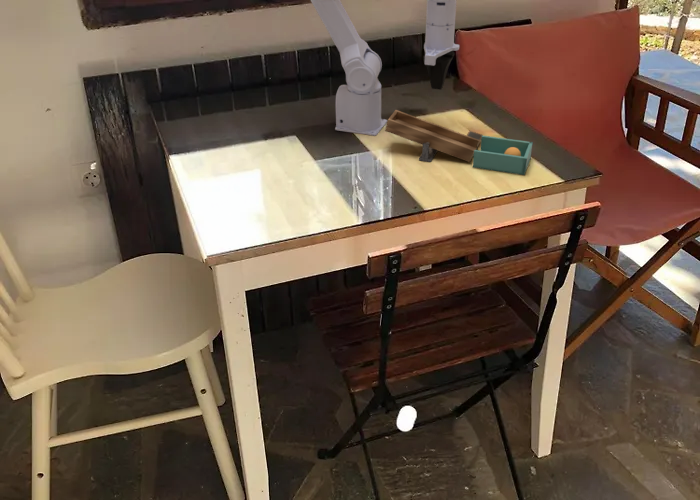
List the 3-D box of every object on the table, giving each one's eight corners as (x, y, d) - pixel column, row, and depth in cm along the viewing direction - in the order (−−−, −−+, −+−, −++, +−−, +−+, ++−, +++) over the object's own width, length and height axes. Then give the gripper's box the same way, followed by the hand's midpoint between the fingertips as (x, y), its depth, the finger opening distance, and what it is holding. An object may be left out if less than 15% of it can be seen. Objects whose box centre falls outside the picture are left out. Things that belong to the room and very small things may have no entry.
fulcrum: (418, 160, 143) (419, 143, 141) (430, 143, 150) (430, 127, 148) (430, 162, 142) (431, 145, 140) (441, 144, 149) (442, 128, 147)
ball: (513, 148, 137) (522, 161, 138) (516, 141, 140) (525, 154, 141) (499, 156, 139) (508, 169, 140) (502, 149, 142) (511, 162, 143)
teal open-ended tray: (472, 167, 140) (474, 151, 138) (480, 151, 146) (482, 135, 144) (524, 175, 137) (526, 158, 135) (530, 158, 143) (532, 142, 141)
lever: (384, 131, 144) (387, 120, 142) (401, 110, 153) (404, 99, 151) (469, 163, 141) (473, 151, 139) (481, 139, 150) (485, 128, 148)
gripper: (451, 34, 135) (447, 103, 143) (468, 13, 147) (464, 78, 154) (415, 31, 138) (413, 98, 145) (435, 11, 149) (432, 74, 156)
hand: (437, 88), depth 150 cm, fingers closed
